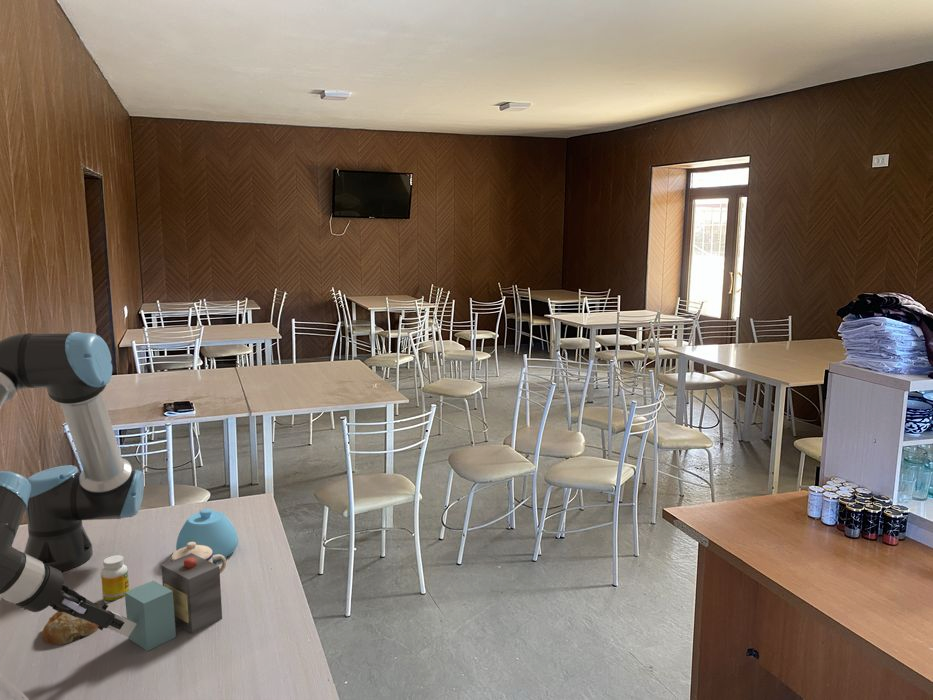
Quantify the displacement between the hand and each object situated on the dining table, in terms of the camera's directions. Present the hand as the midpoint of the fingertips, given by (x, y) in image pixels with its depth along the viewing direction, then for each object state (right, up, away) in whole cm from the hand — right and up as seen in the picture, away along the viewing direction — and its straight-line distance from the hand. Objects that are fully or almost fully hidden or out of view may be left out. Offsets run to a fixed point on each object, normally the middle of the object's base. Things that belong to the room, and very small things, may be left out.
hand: (130, 629), depth 137 cm
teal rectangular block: (+2, -3, +4) cm, 6 cm away
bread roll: (-16, -5, +7) cm, 18 cm away
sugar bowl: (-1, +2, +45) cm, 45 cm away
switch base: (+3, -5, +6) cm, 8 cm away
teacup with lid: (+4, -1, +26) cm, 27 cm away
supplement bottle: (-13, -2, +22) cm, 25 cm away
